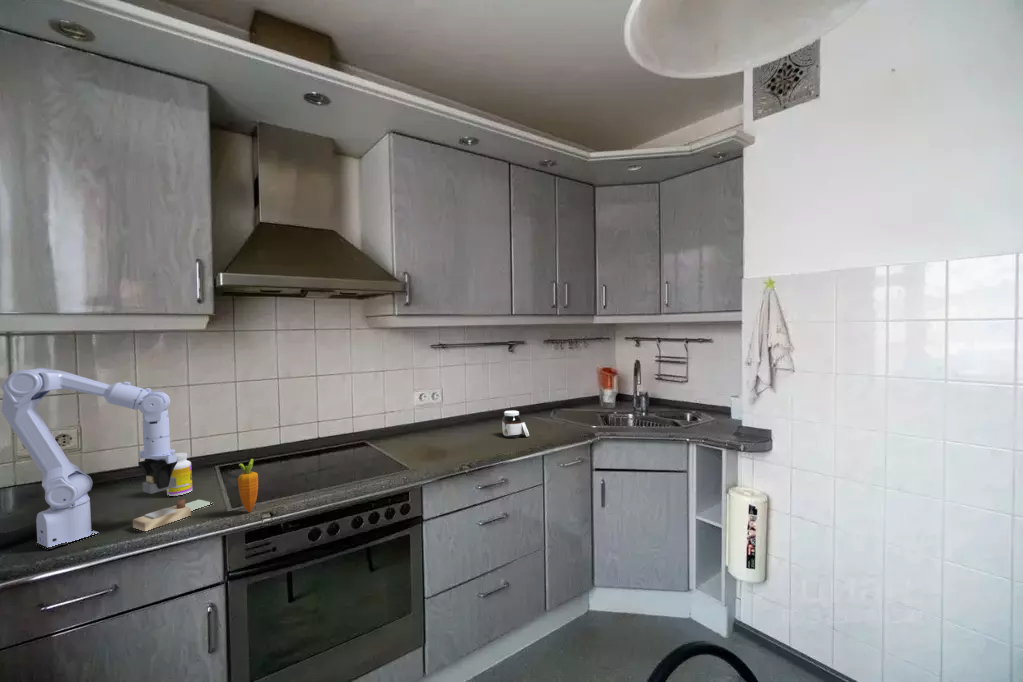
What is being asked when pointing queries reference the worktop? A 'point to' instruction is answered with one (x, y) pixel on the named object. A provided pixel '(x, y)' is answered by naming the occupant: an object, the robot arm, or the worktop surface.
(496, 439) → the worktop surface
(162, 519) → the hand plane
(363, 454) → the worktop surface
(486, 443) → the worktop surface
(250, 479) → the carrot
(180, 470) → the supplement bottle
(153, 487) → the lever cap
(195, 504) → the sage mat
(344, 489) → the worktop surface
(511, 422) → the spread jar
